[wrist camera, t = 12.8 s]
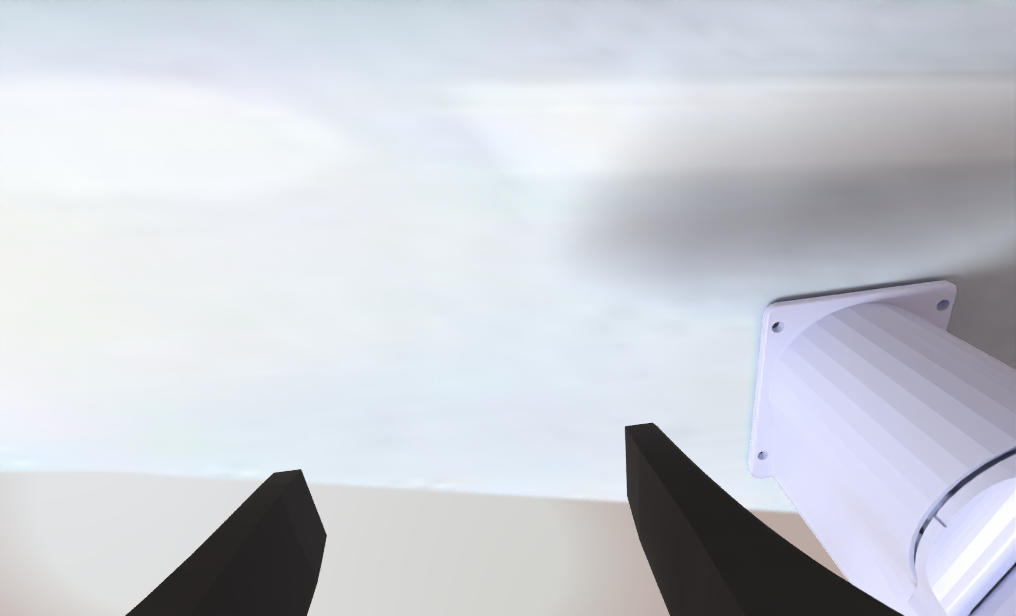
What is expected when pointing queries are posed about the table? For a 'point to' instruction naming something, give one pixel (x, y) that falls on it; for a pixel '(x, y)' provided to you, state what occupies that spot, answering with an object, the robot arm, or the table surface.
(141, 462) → the table surface
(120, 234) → the table surface
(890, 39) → the table surface
